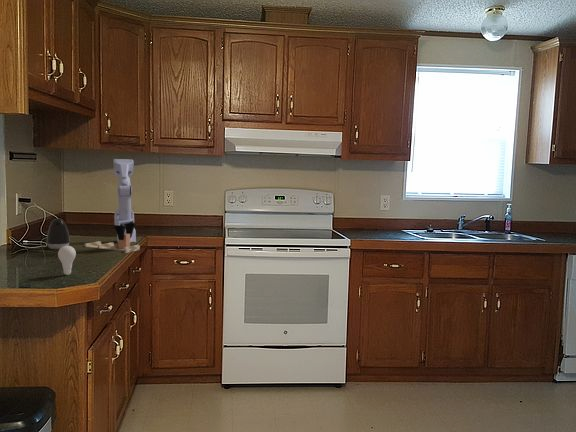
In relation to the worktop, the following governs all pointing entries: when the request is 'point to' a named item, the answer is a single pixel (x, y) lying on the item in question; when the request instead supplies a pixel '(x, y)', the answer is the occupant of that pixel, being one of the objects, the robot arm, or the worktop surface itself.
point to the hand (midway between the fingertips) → (125, 238)
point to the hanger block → (124, 242)
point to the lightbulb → (67, 258)
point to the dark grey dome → (58, 234)
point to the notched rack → (112, 246)
